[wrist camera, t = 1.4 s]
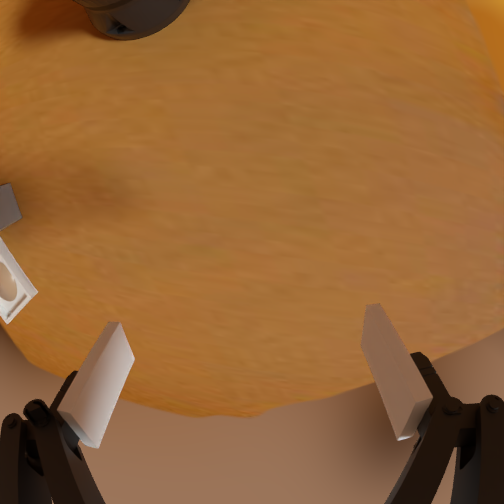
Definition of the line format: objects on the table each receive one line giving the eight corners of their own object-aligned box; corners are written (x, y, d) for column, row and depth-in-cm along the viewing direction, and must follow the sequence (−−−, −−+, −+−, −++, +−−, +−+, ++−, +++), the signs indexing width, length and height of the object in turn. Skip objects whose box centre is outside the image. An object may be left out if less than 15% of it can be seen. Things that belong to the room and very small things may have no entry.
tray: (-23, 268, 45) (-29, 273, 42) (-2, 233, 42) (-10, 238, 39) (13, 318, 49) (7, 324, 47) (38, 292, 46) (31, 298, 44)
